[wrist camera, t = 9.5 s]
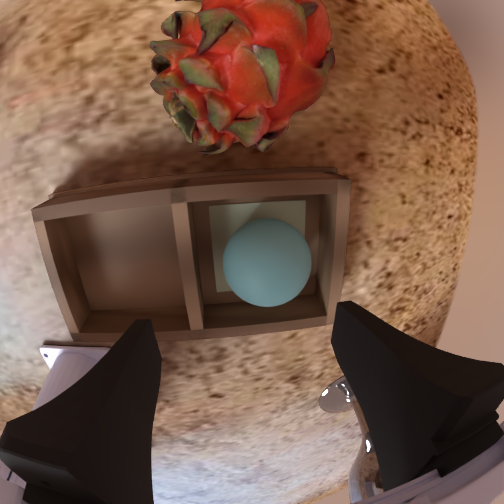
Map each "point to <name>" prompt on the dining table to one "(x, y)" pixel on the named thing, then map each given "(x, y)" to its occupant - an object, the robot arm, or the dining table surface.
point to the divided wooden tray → (188, 251)
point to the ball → (267, 262)
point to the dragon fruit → (242, 69)
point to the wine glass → (365, 465)
